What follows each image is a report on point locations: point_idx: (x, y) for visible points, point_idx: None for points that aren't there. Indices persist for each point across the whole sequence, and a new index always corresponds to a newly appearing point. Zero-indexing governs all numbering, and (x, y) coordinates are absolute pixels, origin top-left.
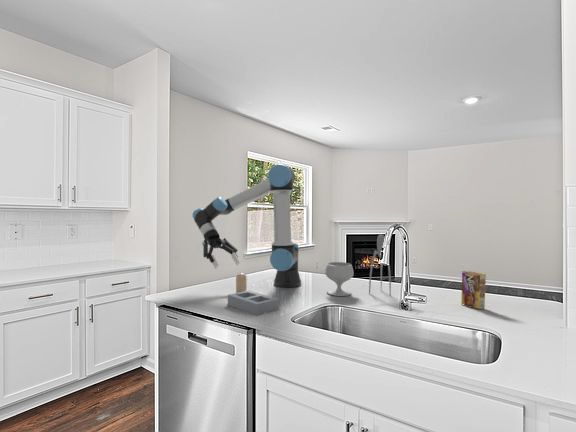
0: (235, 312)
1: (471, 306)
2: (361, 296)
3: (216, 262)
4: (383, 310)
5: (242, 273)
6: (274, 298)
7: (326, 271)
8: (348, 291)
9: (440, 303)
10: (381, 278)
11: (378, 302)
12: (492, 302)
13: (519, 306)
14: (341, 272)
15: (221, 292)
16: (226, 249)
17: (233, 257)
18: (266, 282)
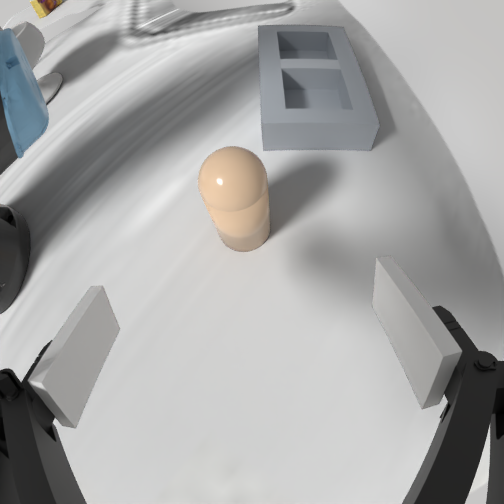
0: (378, 88)
1: (55, 6)
2: (43, 68)
3: (402, 273)
4: (120, 6)
5: (224, 154)
6: (264, 31)
7: None
8: None
9: (47, 21)
10: None
11: (74, 34)
12: (25, 20)
13: None
14: (38, 29)
15: (281, 354)
16: (72, 496)
17: (82, 379)
18: (7, 355)
